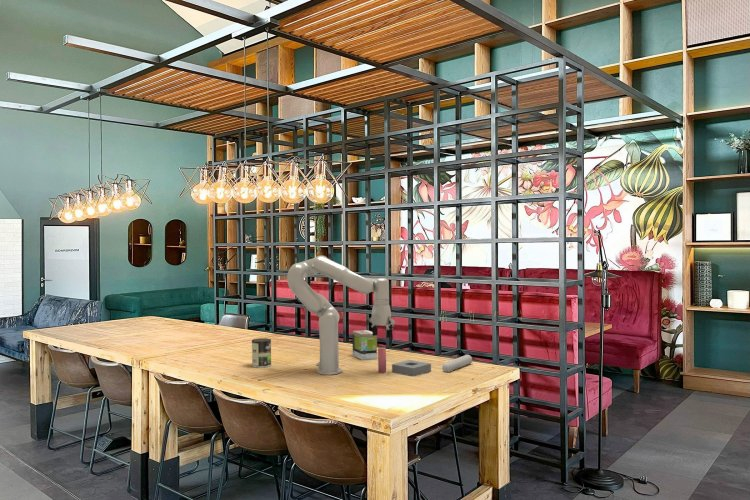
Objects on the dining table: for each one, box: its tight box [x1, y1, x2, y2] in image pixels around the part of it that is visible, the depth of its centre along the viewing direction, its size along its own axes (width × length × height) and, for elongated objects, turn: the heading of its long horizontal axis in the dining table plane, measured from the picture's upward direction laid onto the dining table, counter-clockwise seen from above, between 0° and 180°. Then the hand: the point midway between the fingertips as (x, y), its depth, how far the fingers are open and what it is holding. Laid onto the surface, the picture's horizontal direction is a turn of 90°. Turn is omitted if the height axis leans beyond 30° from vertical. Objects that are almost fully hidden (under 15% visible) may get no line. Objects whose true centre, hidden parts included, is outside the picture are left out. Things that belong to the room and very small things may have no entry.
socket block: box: [391, 359, 432, 377], centre depth 293 cm, size 14×14×4 cm
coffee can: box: [251, 337, 272, 369], centre depth 311 cm, size 10×10×14 cm
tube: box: [441, 354, 473, 373], centre depth 300 cm, size 5×5×25 cm
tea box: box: [351, 329, 378, 361], centre depth 331 cm, size 15×10×15 cm
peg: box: [377, 347, 387, 374], centre depth 293 cm, size 4×4×12 cm
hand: (382, 336), depth 293 cm, fingers open, 9 cm apart
